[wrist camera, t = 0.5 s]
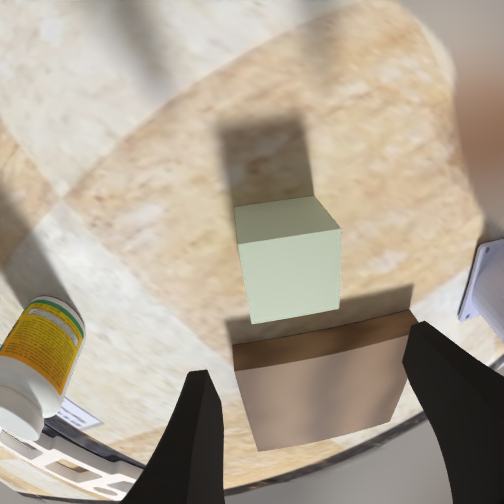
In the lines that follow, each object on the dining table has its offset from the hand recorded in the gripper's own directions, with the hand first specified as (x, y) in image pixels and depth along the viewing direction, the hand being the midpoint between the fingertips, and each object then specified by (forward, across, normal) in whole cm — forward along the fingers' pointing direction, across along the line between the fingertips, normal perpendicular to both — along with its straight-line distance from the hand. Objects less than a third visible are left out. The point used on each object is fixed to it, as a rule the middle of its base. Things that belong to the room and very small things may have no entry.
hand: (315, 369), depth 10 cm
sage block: (+10, 0, 0) cm, 10 cm away
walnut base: (+9, -3, +15) cm, 18 cm away
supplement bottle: (+10, +17, +3) cm, 20 cm away
